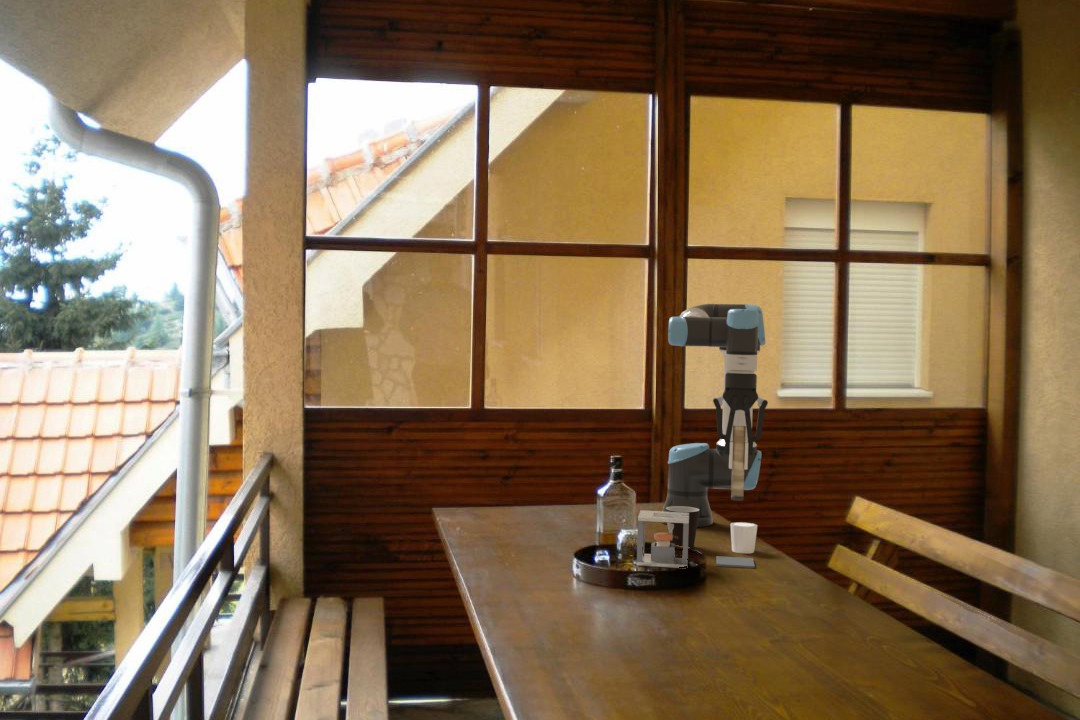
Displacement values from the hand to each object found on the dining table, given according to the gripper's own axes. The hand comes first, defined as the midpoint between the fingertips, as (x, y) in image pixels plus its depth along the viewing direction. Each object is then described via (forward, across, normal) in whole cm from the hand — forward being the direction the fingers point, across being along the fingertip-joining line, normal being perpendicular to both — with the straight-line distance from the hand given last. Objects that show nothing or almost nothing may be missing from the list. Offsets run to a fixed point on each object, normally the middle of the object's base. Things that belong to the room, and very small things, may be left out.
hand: (738, 468), depth 253 cm
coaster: (+23, 0, 0) cm, 23 cm away
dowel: (+8, 0, 0) cm, 8 cm away
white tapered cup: (+24, +2, +15) cm, 28 cm away
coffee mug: (+24, -14, +17) cm, 32 cm away
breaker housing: (+23, -18, -4) cm, 29 cm away
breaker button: (+22, -18, -4) cm, 28 cm away
